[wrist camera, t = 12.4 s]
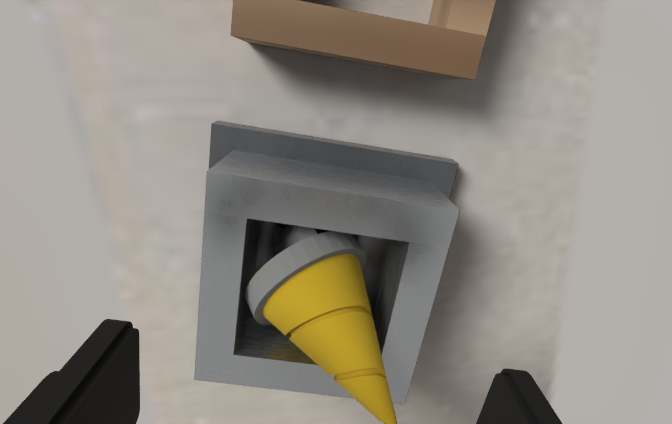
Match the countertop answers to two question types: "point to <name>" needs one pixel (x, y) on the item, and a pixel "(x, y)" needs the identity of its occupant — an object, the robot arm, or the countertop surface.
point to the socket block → (372, 34)
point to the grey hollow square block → (323, 215)
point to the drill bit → (324, 309)
